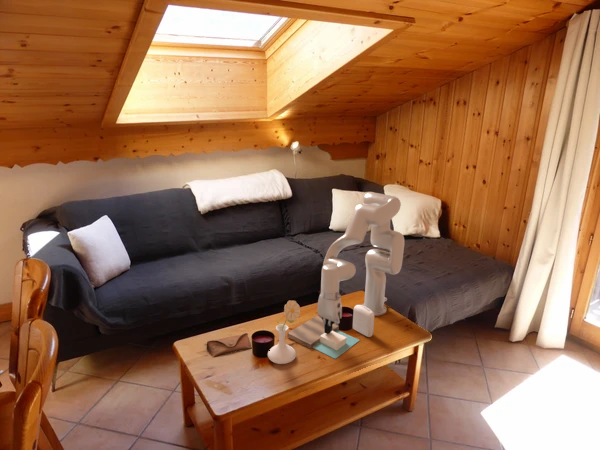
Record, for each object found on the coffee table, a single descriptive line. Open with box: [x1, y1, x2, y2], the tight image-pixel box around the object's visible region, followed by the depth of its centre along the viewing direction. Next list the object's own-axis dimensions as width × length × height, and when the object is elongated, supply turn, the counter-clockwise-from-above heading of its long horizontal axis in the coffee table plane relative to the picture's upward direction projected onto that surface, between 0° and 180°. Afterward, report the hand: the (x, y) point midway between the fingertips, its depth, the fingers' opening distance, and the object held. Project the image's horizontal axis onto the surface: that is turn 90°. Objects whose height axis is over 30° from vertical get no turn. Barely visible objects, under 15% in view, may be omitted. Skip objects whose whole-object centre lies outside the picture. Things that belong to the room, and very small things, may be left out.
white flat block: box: [320, 331, 347, 350], centre depth 174 cm, size 7×9×3 cm
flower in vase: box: [267, 300, 302, 365], centre depth 161 cm, size 13×11×25 cm
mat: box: [311, 330, 361, 360], centre depth 174 cm, size 18×12×1 cm, turn 139°
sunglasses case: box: [206, 332, 253, 358], centre depth 170 cm, size 18×7×7 cm, turn 115°
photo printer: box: [352, 304, 375, 338], centre depth 182 cm, size 10×4×12 cm, turn 39°
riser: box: [287, 315, 340, 349], centre depth 181 cm, size 20×13×2 cm, turn 139°
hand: (328, 332), depth 176 cm, fingers closed
